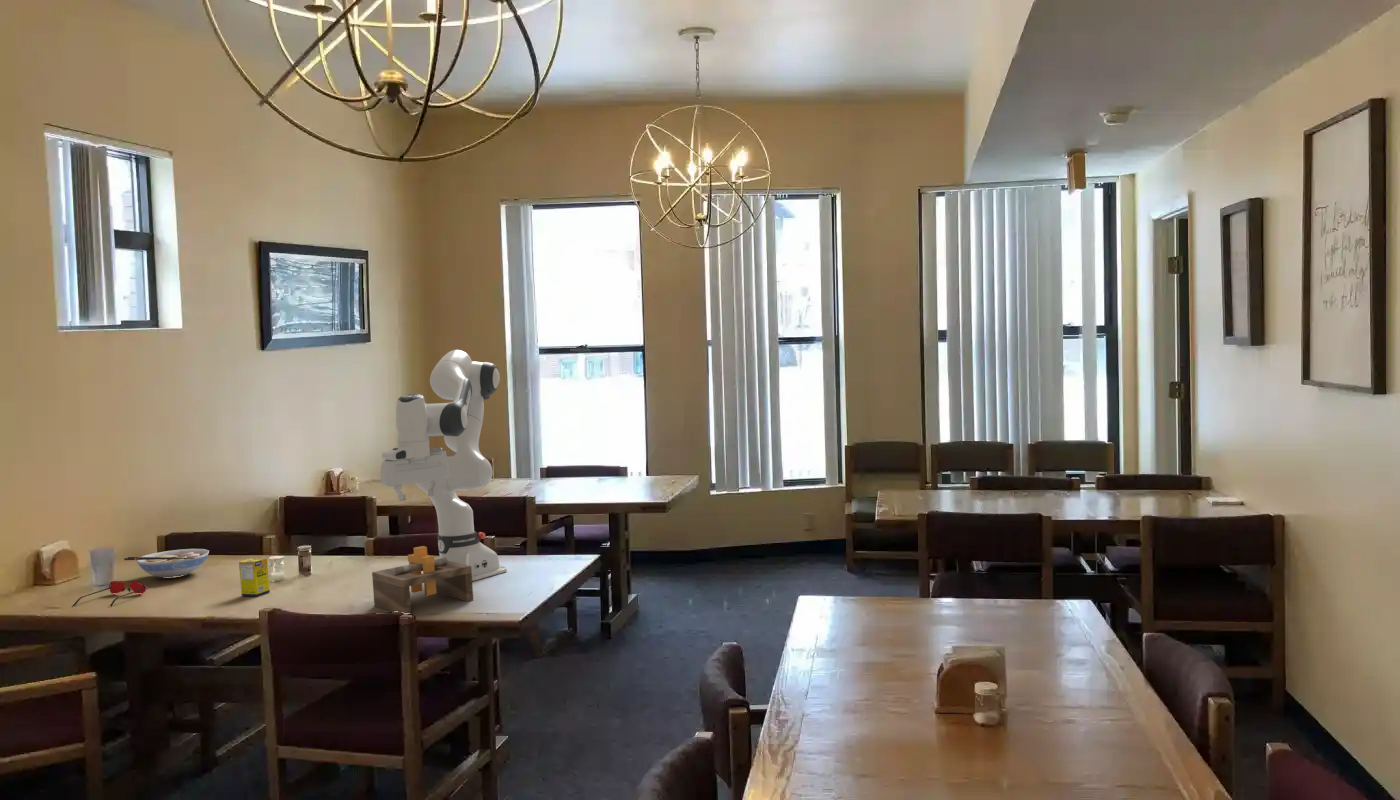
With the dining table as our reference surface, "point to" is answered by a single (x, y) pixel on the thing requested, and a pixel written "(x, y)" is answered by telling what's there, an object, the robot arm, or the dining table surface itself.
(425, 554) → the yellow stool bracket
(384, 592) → the shelf
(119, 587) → the glasses
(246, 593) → the supplement box
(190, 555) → the ramen bowl
